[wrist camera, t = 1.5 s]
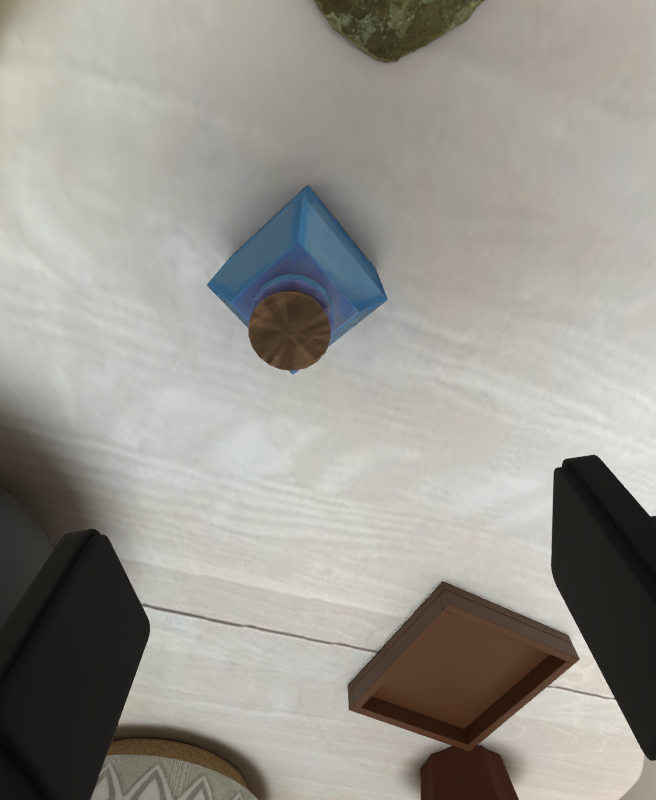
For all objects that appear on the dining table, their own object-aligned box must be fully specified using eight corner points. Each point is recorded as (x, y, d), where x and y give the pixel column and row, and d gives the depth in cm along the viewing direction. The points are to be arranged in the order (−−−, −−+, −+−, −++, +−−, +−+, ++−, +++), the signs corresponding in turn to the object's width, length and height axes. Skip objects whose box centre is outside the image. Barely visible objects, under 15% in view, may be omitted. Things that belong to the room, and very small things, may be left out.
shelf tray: (442, 581, 42) (448, 604, 40) (568, 635, 45) (580, 659, 43) (347, 685, 48) (348, 710, 46) (464, 727, 51) (469, 751, 49)
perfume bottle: (307, 184, 28) (295, 211, 17) (376, 270, 30) (403, 341, 19) (229, 258, 30) (174, 323, 19) (299, 334, 32) (284, 431, 21)
